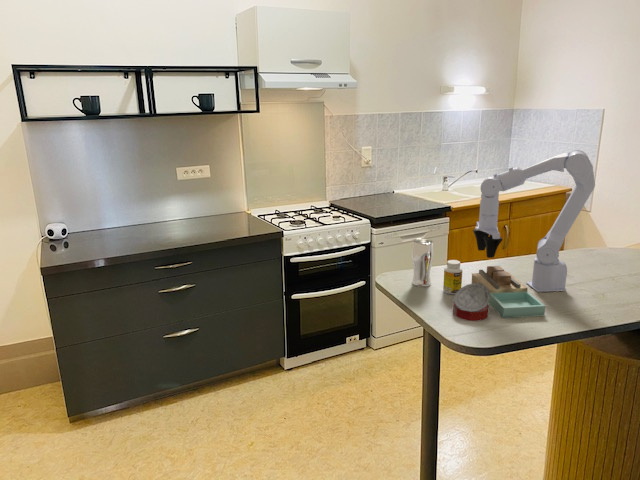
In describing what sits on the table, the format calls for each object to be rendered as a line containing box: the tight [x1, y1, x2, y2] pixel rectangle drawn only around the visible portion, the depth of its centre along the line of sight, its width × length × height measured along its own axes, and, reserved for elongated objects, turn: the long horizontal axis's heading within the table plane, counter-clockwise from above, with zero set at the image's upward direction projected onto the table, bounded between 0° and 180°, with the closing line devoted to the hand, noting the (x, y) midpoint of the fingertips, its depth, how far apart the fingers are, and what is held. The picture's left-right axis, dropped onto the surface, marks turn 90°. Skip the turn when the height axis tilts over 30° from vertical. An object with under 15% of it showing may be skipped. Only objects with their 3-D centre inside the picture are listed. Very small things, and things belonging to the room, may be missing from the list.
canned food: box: [452, 282, 490, 322], centre depth 141 cm, size 11×10×10 cm
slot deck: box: [471, 269, 528, 293], centre depth 155 cm, size 12×14×5 cm
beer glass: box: [411, 237, 434, 288], centre depth 162 cm, size 7×7×15 cm
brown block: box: [486, 265, 505, 279], centre depth 157 cm, size 4×4×3 cm
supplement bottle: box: [442, 259, 463, 296], centre depth 155 cm, size 6×6×10 cm
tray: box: [488, 290, 546, 319], centre depth 143 cm, size 12×11×3 cm
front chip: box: [493, 270, 512, 285], centre depth 152 cm, size 4×4×3 cm
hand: (485, 253), depth 163 cm, fingers open, 7 cm apart
